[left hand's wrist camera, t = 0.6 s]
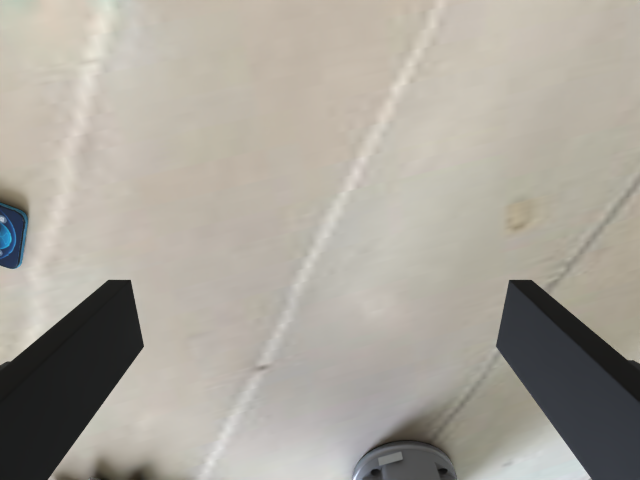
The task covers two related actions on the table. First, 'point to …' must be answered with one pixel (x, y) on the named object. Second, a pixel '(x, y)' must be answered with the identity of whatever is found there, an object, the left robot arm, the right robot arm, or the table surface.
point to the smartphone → (12, 236)
